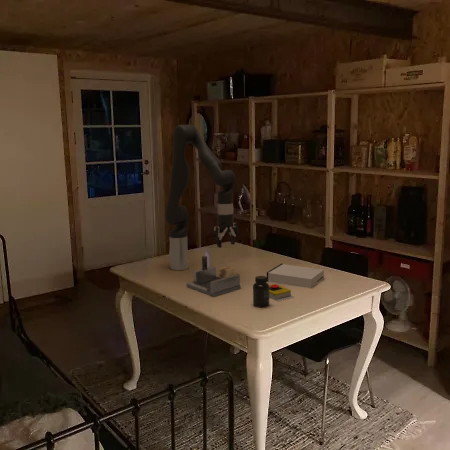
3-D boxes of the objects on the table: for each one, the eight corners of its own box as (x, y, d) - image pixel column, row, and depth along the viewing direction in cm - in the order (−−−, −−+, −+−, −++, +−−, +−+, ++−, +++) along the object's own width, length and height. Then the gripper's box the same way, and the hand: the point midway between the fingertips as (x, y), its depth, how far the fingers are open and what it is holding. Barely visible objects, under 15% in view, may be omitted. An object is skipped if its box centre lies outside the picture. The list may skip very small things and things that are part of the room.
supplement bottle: (268, 301, 218) (268, 274, 215) (270, 307, 211) (270, 279, 209) (252, 302, 218) (252, 275, 215) (253, 307, 211) (253, 280, 208)
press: (186, 286, 239) (186, 273, 238) (212, 279, 250) (212, 266, 248) (214, 297, 224) (214, 282, 223) (240, 288, 235) (240, 275, 234)
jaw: (193, 283, 238) (192, 258, 236) (213, 278, 246) (212, 253, 243) (196, 284, 236) (196, 259, 234) (216, 279, 244) (215, 254, 242)
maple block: (219, 280, 248) (219, 268, 247) (227, 278, 251) (226, 266, 250) (226, 282, 244) (226, 270, 243) (234, 280, 248) (233, 268, 246)
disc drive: (281, 272, 260) (281, 263, 259) (323, 278, 249) (324, 269, 248) (266, 282, 245) (266, 272, 244) (310, 289, 234) (310, 278, 233)
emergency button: (273, 280, 234) (295, 288, 221) (273, 289, 235) (295, 298, 222) (257, 284, 229) (278, 293, 217) (257, 293, 230) (278, 302, 217)
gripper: (231, 209, 248) (231, 242, 252) (208, 213, 239) (209, 247, 242) (241, 211, 243) (242, 244, 246) (219, 215, 234) (220, 249, 237)
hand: (226, 245), depth 244 cm, fingers open, 8 cm apart
